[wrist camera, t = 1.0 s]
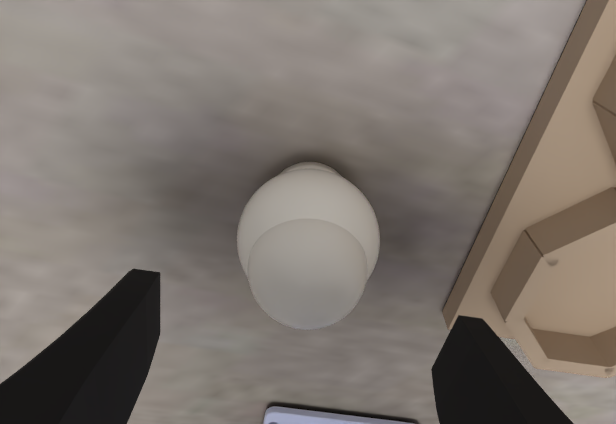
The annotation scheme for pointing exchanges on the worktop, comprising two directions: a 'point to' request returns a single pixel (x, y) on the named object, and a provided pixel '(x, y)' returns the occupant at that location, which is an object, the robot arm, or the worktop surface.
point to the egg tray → (556, 218)
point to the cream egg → (308, 246)
